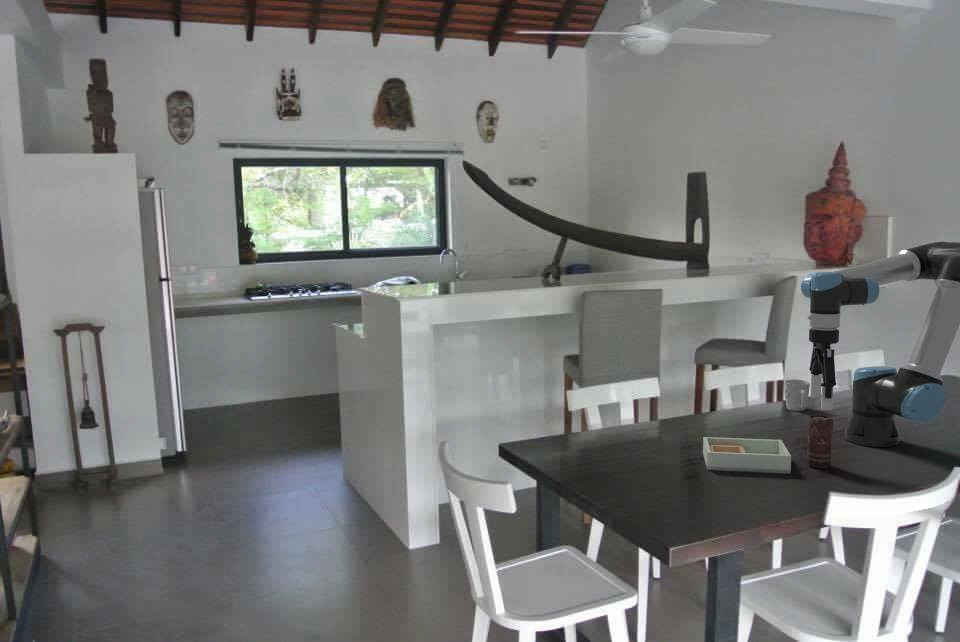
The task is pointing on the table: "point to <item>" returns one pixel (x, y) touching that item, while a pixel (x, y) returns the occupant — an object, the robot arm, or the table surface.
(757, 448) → the walled box
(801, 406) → the mug
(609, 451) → the table surface
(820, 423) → the can
